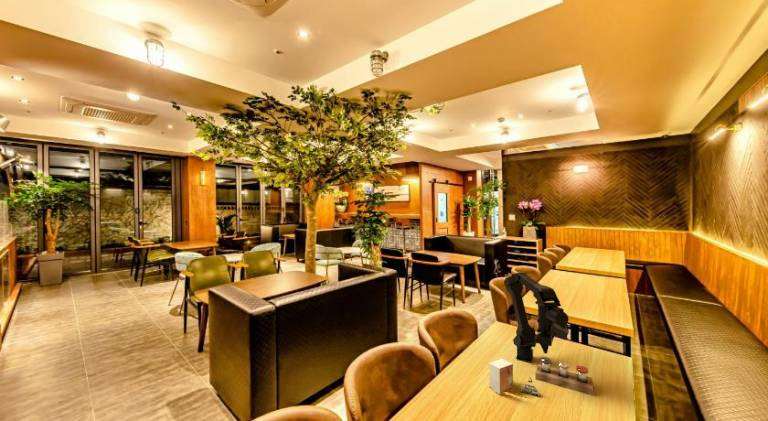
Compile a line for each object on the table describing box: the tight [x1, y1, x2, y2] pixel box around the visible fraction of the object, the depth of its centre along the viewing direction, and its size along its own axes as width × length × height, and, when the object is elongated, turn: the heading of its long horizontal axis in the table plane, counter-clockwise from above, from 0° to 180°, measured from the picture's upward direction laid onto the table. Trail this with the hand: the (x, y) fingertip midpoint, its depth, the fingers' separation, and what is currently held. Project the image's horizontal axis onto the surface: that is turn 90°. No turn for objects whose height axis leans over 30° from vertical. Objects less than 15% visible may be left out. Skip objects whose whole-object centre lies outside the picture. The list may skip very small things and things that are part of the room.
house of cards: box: [520, 377, 540, 399], centre depth 118 cm, size 9×9×8 cm
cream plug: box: [557, 360, 570, 379], centre depth 124 cm, size 4×4×6 cm
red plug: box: [575, 365, 589, 384], centre depth 120 cm, size 4×4×6 cm
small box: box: [488, 358, 514, 395], centre depth 122 cm, size 8×6×10 cm
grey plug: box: [540, 356, 552, 374], centre depth 128 cm, size 4×4×6 cm
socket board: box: [534, 363, 594, 396], centre depth 124 cm, size 20×9×4 cm, turn 55°
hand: (545, 353), depth 128 cm, fingers closed
